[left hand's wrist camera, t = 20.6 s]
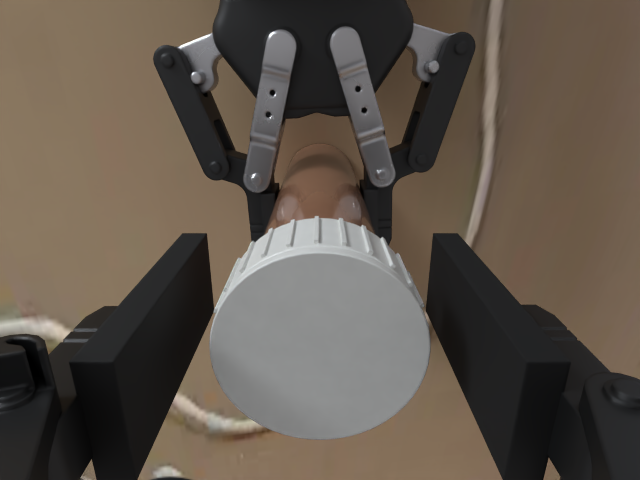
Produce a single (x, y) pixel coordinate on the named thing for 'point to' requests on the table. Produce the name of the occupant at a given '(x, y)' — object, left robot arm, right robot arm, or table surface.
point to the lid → (320, 331)
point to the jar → (320, 189)
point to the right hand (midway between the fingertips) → (322, 254)
